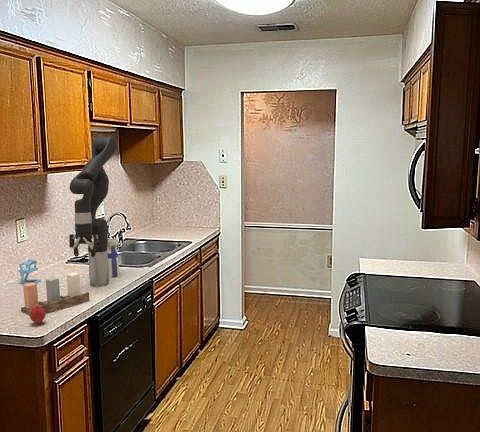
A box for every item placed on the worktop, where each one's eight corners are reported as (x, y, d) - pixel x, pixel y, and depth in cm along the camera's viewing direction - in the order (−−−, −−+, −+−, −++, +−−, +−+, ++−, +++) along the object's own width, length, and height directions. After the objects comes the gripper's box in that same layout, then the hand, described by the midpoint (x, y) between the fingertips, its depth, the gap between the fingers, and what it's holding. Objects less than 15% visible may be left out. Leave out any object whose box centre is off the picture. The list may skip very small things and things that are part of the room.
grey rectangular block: (55, 298, 219) (54, 277, 218) (60, 300, 217) (58, 278, 215) (47, 301, 216) (45, 279, 215) (51, 303, 214) (50, 280, 212)
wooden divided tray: (76, 296, 229) (75, 287, 228) (89, 301, 222) (89, 292, 221) (21, 311, 209) (20, 302, 209) (33, 317, 202) (33, 307, 202)
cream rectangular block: (75, 293, 227) (74, 272, 225) (80, 295, 224) (79, 274, 223) (67, 295, 224) (66, 274, 222) (72, 297, 221) (71, 275, 220)
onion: (27, 325, 194) (25, 305, 193) (37, 320, 199) (36, 301, 198) (38, 327, 192) (37, 307, 190) (49, 322, 197) (47, 302, 196)
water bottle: (108, 279, 256) (105, 231, 252) (101, 275, 262) (99, 229, 258) (123, 276, 260) (121, 229, 256) (116, 272, 267) (114, 227, 263)
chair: (26, 280, 254) (24, 257, 252) (41, 281, 252) (39, 258, 250) (17, 284, 247) (15, 261, 245) (32, 285, 245) (30, 262, 243)
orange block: (33, 304, 212) (32, 282, 210) (38, 306, 209) (36, 284, 208) (24, 307, 209) (23, 284, 207) (29, 309, 206) (27, 286, 205)
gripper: (101, 221, 231) (102, 255, 232) (74, 221, 234) (75, 254, 236) (92, 223, 224) (94, 258, 225) (64, 222, 227) (66, 257, 229)
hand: (84, 256), depth 231 cm, fingers open, 8 cm apart
